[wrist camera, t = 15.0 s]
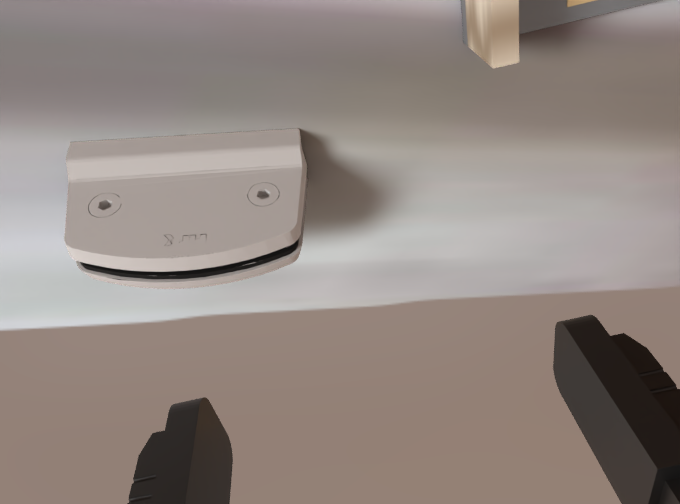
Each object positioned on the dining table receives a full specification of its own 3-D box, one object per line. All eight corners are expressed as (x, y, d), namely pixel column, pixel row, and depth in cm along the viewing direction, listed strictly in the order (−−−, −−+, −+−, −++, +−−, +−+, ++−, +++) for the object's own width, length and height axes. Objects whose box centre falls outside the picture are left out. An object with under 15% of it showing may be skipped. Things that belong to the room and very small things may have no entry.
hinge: (304, 127, 38) (314, 239, 32) (307, 173, 42) (316, 281, 36) (64, 142, 37) (30, 260, 31) (89, 188, 41) (64, 301, 35)
